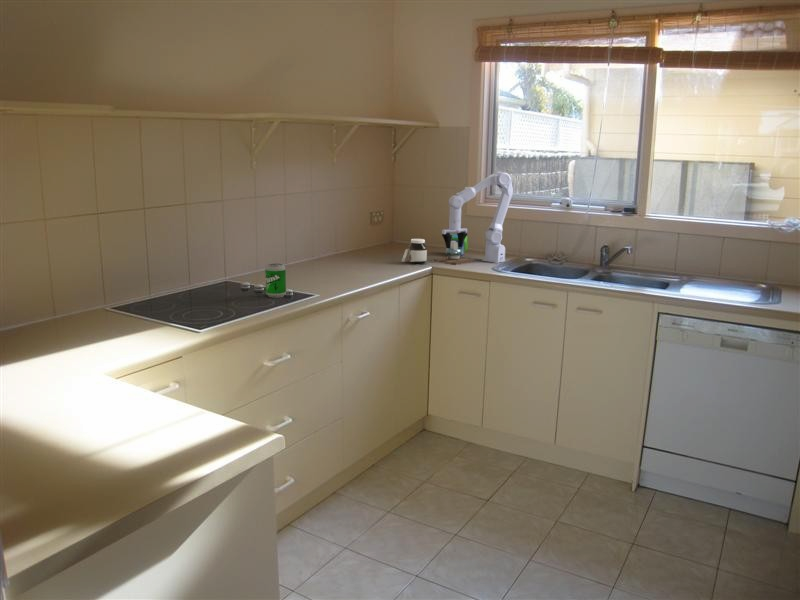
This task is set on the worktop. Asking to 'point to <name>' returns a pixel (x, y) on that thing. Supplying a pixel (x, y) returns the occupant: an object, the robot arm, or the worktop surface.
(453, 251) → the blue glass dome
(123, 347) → the worktop surface
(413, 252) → the spread jar
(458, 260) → the base plate
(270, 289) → the soda can
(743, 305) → the worktop surface
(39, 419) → the worktop surface
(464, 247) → the snack cup
